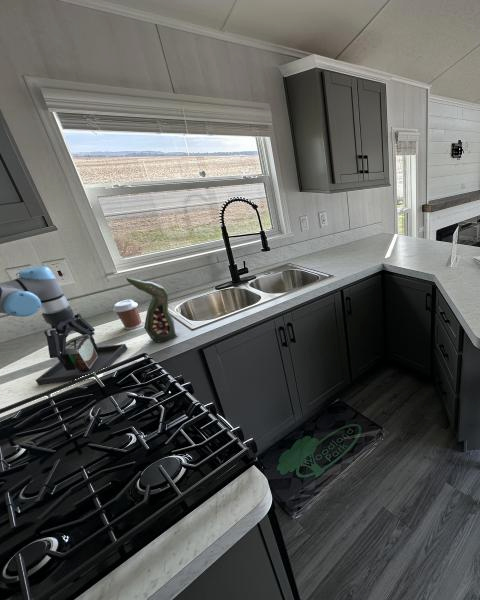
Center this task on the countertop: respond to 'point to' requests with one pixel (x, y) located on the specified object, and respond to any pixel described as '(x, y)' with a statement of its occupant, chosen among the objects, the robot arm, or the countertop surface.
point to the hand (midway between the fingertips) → (83, 359)
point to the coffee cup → (128, 313)
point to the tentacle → (156, 311)
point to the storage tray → (61, 375)
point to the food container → (81, 352)
